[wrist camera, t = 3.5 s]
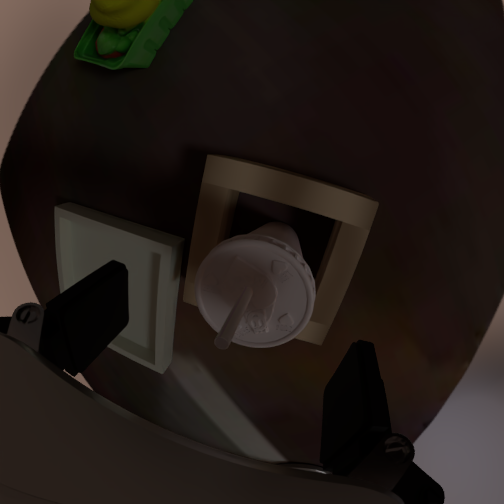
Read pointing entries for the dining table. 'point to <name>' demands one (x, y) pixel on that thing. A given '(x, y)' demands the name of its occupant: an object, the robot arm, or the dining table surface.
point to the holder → (295, 194)
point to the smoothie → (256, 288)
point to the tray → (139, 275)
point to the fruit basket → (128, 31)
